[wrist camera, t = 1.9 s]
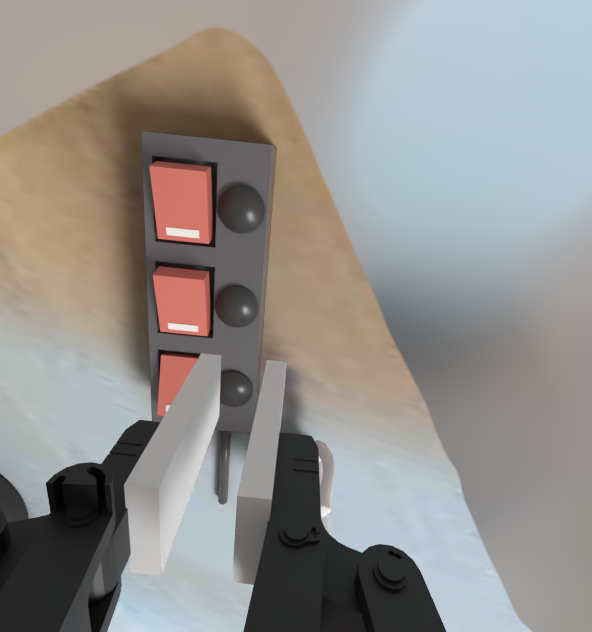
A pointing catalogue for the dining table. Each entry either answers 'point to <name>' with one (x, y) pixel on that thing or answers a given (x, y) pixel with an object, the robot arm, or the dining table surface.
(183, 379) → the rocker
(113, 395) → the dining table surface
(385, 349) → the dining table surface
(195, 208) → the rocker
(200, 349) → the switch panel
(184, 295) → the rocker
